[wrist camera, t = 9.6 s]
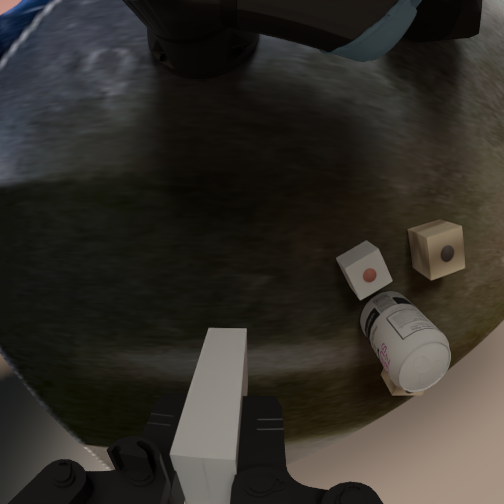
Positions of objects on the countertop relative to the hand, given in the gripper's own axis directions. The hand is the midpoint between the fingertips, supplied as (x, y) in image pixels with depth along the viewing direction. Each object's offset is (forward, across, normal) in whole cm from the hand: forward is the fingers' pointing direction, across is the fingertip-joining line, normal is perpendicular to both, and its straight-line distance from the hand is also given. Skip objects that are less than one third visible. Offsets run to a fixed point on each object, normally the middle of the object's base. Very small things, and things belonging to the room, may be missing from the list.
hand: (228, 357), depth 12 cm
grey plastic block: (+31, +15, -5) cm, 34 cm away
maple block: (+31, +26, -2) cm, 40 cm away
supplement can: (+31, +20, -13) cm, 39 cm away
